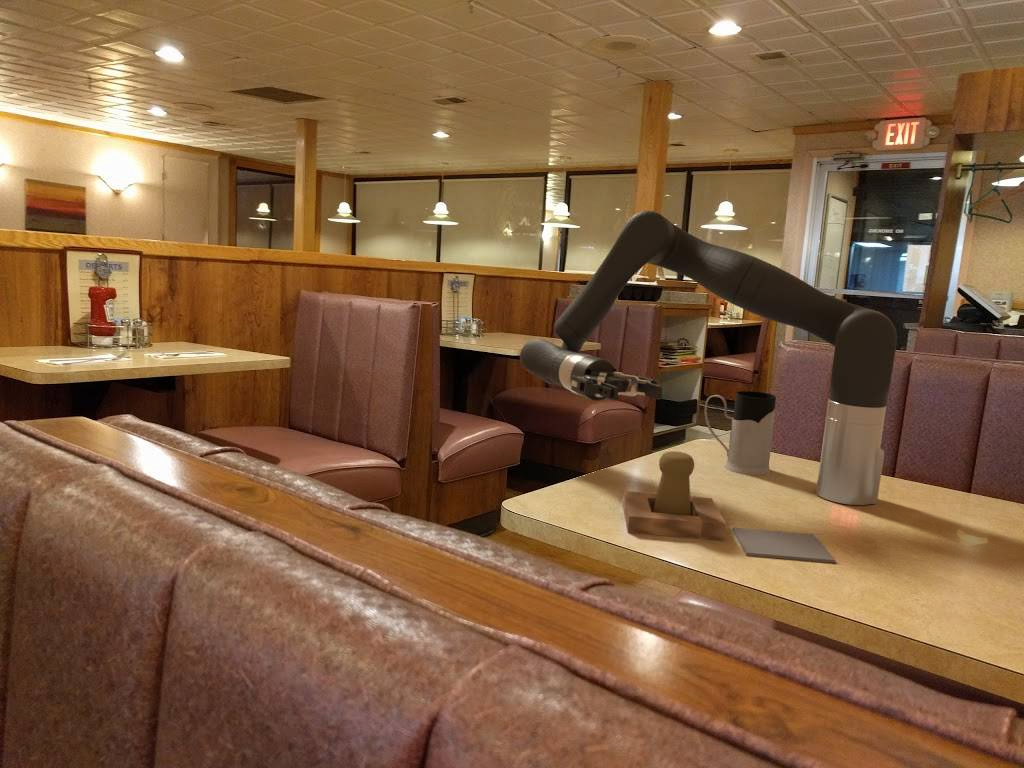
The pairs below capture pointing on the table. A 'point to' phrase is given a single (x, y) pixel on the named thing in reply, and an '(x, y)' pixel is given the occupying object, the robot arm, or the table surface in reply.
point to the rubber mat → (782, 545)
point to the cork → (674, 484)
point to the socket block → (673, 518)
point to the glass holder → (749, 432)
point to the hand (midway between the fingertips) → (638, 393)
